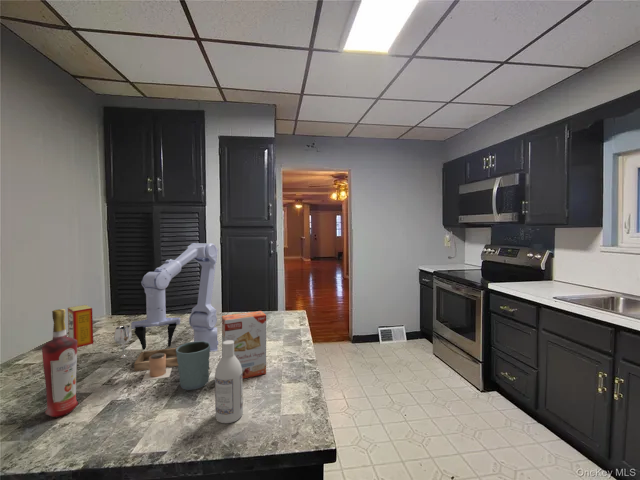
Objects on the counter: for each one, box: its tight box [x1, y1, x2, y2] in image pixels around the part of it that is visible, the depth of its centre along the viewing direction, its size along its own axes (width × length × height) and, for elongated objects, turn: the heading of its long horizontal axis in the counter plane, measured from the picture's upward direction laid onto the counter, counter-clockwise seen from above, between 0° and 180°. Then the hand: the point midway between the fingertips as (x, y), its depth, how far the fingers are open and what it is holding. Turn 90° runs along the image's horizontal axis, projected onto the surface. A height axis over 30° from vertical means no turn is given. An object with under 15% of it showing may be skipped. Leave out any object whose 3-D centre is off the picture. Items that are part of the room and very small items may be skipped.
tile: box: [141, 367, 173, 382], centre depth 104 cm, size 8×7×1 cm
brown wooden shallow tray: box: [133, 347, 179, 373], centre depth 114 cm, size 15×11×3 cm
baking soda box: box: [67, 304, 94, 348], centre depth 134 cm, size 10×6×16 cm
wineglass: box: [113, 325, 133, 359], centre depth 118 cm, size 6×6×12 cm
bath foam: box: [214, 340, 244, 424], centre depth 81 cm, size 7×7×20 cm
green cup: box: [176, 340, 211, 391], centre depth 99 cm, size 10×10×12 cm
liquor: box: [41, 308, 79, 418], centre depth 83 cm, size 7×7×28 cm
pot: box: [148, 353, 167, 377], centre depth 104 cm, size 5×5×6 cm
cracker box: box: [221, 310, 267, 380], centre depth 104 cm, size 14×6×21 cm, turn 117°
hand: (157, 347), depth 104 cm, fingers open, 7 cm apart
